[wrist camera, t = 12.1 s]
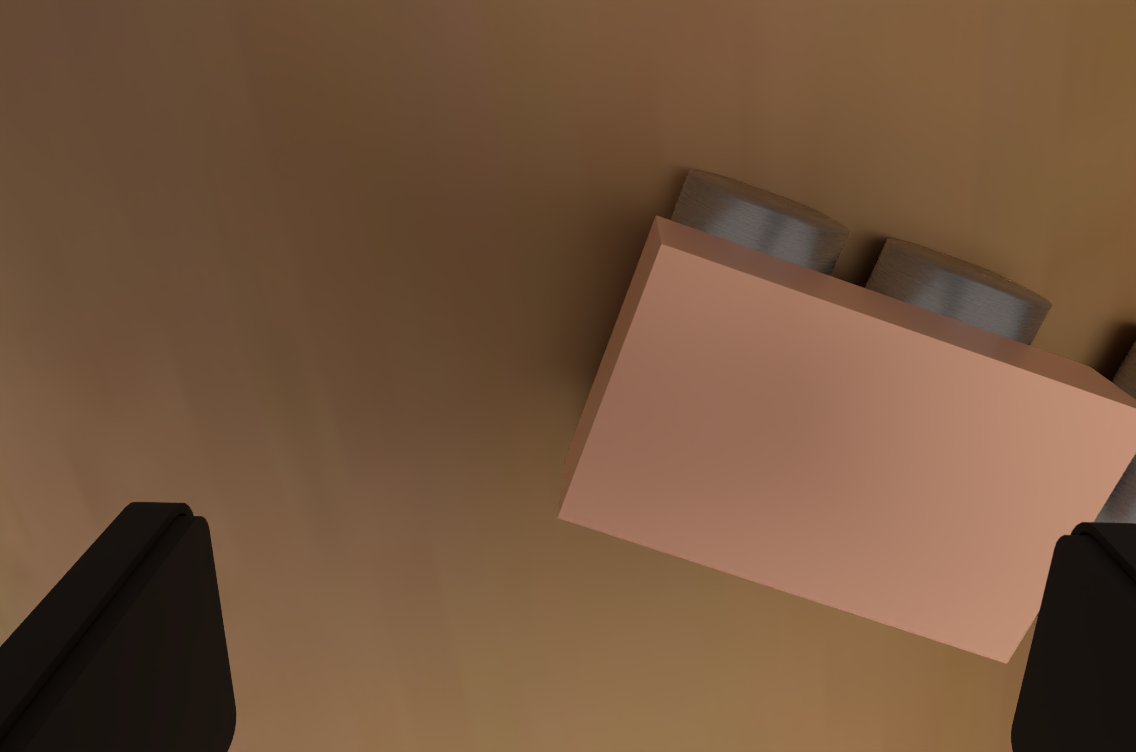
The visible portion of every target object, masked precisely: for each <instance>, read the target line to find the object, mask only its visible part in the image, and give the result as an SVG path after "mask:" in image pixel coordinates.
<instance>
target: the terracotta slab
mask: <svg viewBox="0 0 1136 752" xmlns="http://www.w3.org/2000/svg"><path fill="white" fill-rule="evenodd" d="M1135 453H1136V400H1135V399H1134V398H1133V397H1131V396H1130V395H1128V394H1127V393H1126V392H1124V391H1123V390H1121V389H1120V388H1119V387H1117V386H1116V385H1115V384H1113V383H1112V382H1110V381H1109V380H1108V379H1106V378H1105V377H1104V376H1102V375H1101V374H1099V373H1098V372H1097V371H1095V370H1094V369H1093V368H1091V367H1090V366H1087V365H1084V364H1081V363H1078V362H1075V361H1073V360H1070V359H1067V358H1064V357H1061V356H1058V355H1055V354H1052V353H1050V352H1047V351H1044V350H1041V349H1038V348H1035V347H1032V346H1030V345H1027V344H1024V343H1021V342H1018V341H1015V340H1012V339H1009V338H1007V337H1004V336H1001V335H998V334H995V333H992V332H989V331H987V330H984V329H981V328H978V327H975V326H972V325H969V324H966V323H964V322H961V321H958V320H955V319H952V318H949V317H946V316H944V315H941V314H938V313H935V312H932V311H929V310H926V309H923V308H921V307H918V306H915V305H912V304H909V303H906V302H903V301H901V300H898V299H895V298H892V297H889V296H886V295H883V294H880V293H878V292H875V291H872V290H869V289H866V288H863V287H860V286H858V285H855V284H852V283H849V282H846V281H843V280H840V279H837V278H835V277H832V276H829V275H826V274H823V273H820V272H817V271H815V270H812V269H809V268H806V267H803V266H800V265H797V264H794V263H792V262H789V261H786V260H783V259H780V258H777V257H774V256H771V255H769V254H766V253H763V252H760V251H757V250H754V249H751V248H749V247H746V246H743V245H740V244H737V243H734V242H731V241H728V240H726V239H723V238H720V237H717V236H714V235H711V234H708V233H706V232H703V231H700V230H697V229H694V228H691V227H688V226H685V225H683V224H680V223H677V222H674V221H671V220H668V219H665V218H663V217H660V216H657V215H656V216H655V219H654V222H653V224H652V227H651V230H650V232H649V235H648V238H647V240H646V243H645V246H644V248H643V251H642V254H641V257H640V259H639V262H638V265H637V267H636V270H635V273H634V275H633V278H632V281H631V283H630V286H629V289H628V291H627V294H626V297H625V299H624V302H623V305H622V307H621V310H620V313H619V315H618V318H617V321H616V324H615V326H614V329H613V332H612V334H611V337H610V340H609V342H608V345H607V348H606V350H605V353H604V356H603V358H602V361H601V364H600V366H599V369H598V372H597V374H596V377H595V380H594V383H593V385H592V388H591V391H590V393H589V396H588V399H587V401H586V404H585V407H584V409H583V412H582V415H581V417H580V420H579V423H578V425H577V428H576V431H575V433H574V436H573V439H572V441H571V444H570V447H569V450H568V452H567V455H566V458H565V462H564V470H563V478H562V486H561V494H560V502H559V510H558V518H559V519H562V520H565V521H568V522H571V523H574V524H578V525H581V526H584V527H587V528H590V529H593V530H596V531H599V532H602V533H605V534H608V535H612V536H615V537H618V538H621V539H624V540H627V541H630V542H633V543H636V544H639V545H642V546H645V547H649V548H652V549H655V550H658V551H661V552H664V553H667V554H670V555H673V556H676V557H679V558H682V559H686V560H689V561H692V562H695V563H698V564H701V565H704V566H707V567H710V568H713V569H716V570H719V571H723V572H726V573H729V574H732V575H735V576H738V577H741V578H744V579H747V580H750V581H753V582H756V583H760V584H763V585H766V586H769V587H772V588H775V589H778V590H781V591H784V592H787V593H790V594H793V595H797V596H800V597H803V598H806V599H809V600H812V601H815V602H818V603H821V604H824V605H827V606H830V607H834V608H837V609H840V610H843V611H846V612H849V613H852V614H855V615H858V616H861V617H864V618H868V619H871V620H874V621H877V622H880V623H883V624H886V625H889V626H892V627H895V628H898V629H901V630H905V631H908V632H911V633H914V634H917V635H920V636H923V637H926V638H929V639H932V640H935V641H938V642H942V643H945V644H948V645H951V646H954V647H957V648H960V649H963V650H966V651H969V652H972V653H975V654H979V655H982V656H985V657H988V658H991V659H994V660H997V661H1000V662H1003V663H1006V664H1007V663H1008V661H1009V660H1010V658H1011V656H1012V655H1013V653H1014V651H1015V650H1016V648H1017V646H1018V645H1019V643H1020V642H1021V640H1022V638H1023V637H1024V635H1025V633H1026V632H1027V630H1028V628H1029V627H1030V625H1031V624H1032V622H1033V620H1034V619H1035V617H1036V615H1037V614H1038V612H1039V610H1040V606H1041V602H1042V598H1043V594H1044V589H1045V585H1046V581H1047V577H1048V573H1049V568H1050V564H1051V560H1052V556H1053V552H1054V548H1055V545H1056V542H1057V541H1058V539H1059V538H1060V537H1061V536H1063V535H1071V532H1072V530H1073V529H1074V528H1075V526H1076V525H1078V524H1079V523H1081V522H1094V521H1095V519H1096V517H1097V516H1098V514H1099V512H1100V511H1101V509H1102V507H1103V506H1104V504H1105V503H1106V501H1107V499H1108V498H1109V496H1110V494H1111V493H1112V491H1113V489H1114V488H1115V486H1116V485H1117V483H1118V481H1119V480H1120V478H1121V476H1122V475H1123V473H1124V471H1125V470H1126V468H1127V467H1128V465H1129V463H1130V462H1131V460H1132V458H1133V457H1134V455H1135Z"/></svg>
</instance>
